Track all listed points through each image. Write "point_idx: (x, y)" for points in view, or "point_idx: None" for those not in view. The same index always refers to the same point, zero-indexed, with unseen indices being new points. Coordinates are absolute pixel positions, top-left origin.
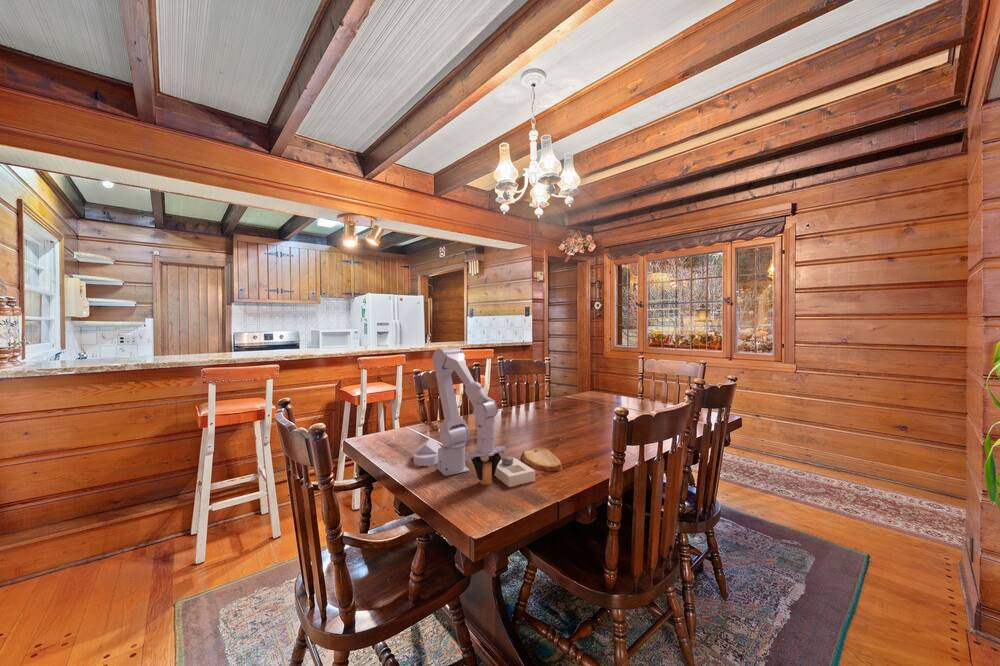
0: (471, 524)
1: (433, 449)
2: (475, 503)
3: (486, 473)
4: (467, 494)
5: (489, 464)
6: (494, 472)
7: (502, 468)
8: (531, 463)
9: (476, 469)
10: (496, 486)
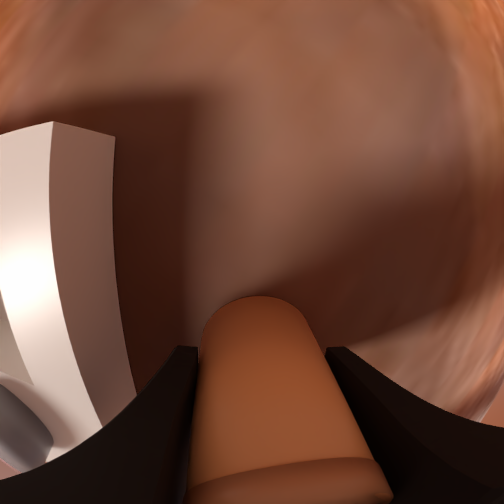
0: (497, 8)
1: None
2: (474, 93)
3: (311, 374)
4: (466, 228)
5: (291, 488)
6: (170, 373)
7: (54, 388)
8: None
9: None
10: (214, 221)
